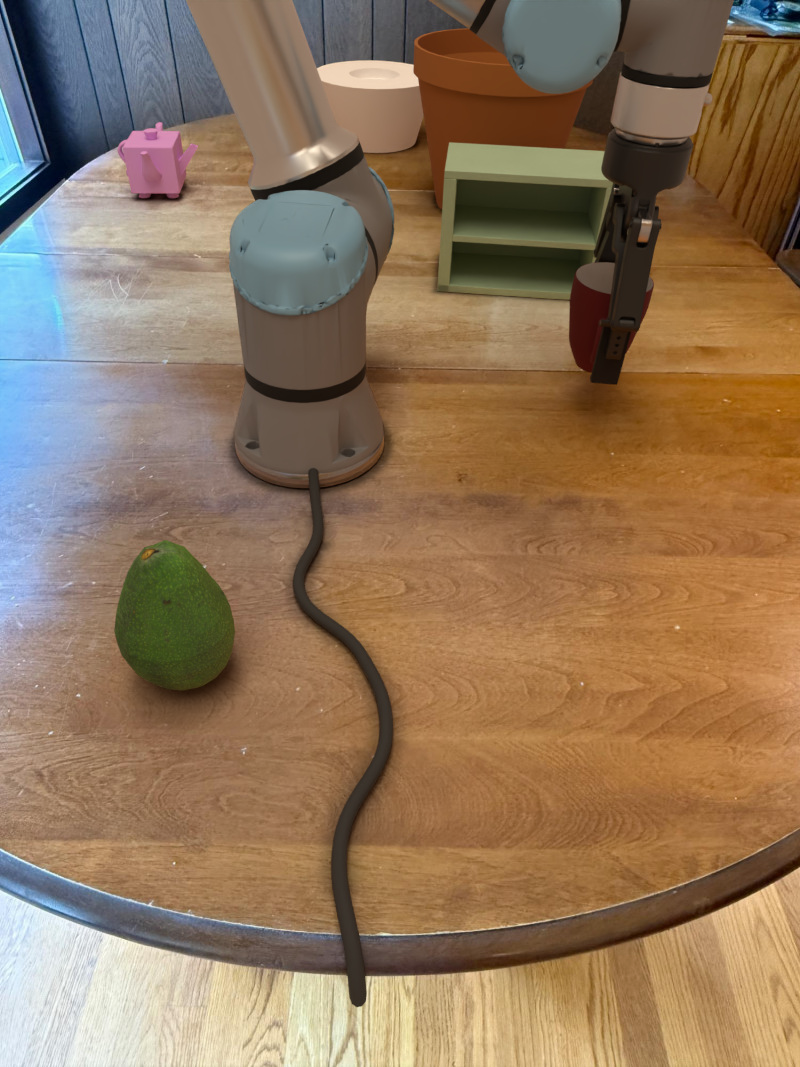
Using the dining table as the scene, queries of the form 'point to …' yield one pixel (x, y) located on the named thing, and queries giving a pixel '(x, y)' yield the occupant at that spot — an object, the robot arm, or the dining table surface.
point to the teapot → (155, 161)
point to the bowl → (375, 102)
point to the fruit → (173, 619)
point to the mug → (593, 310)
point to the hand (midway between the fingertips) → (598, 354)
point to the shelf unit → (519, 219)
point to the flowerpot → (483, 100)
